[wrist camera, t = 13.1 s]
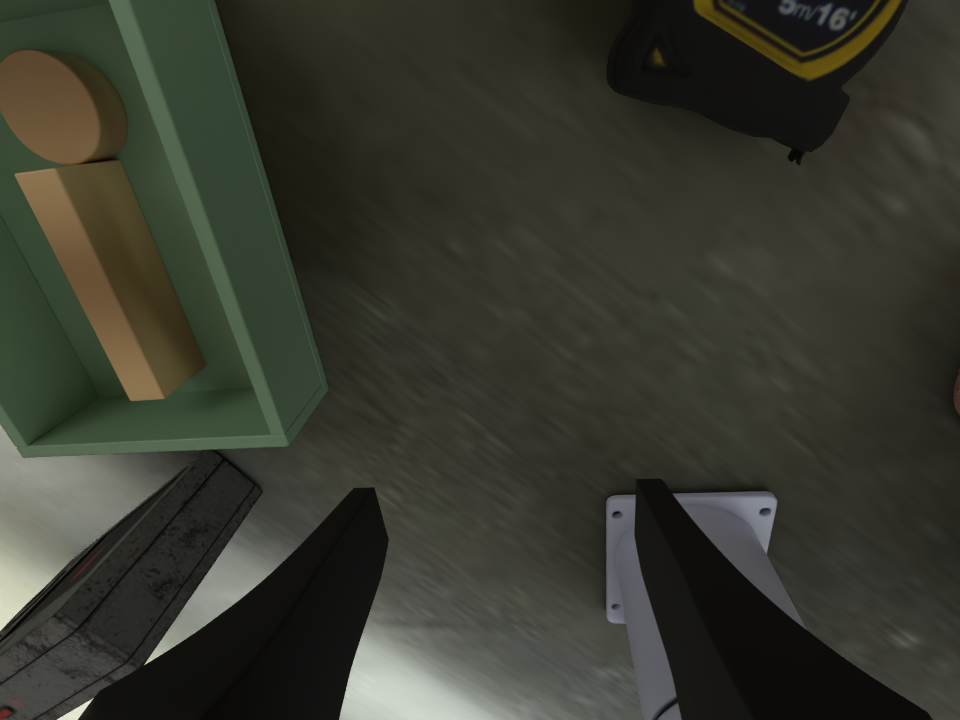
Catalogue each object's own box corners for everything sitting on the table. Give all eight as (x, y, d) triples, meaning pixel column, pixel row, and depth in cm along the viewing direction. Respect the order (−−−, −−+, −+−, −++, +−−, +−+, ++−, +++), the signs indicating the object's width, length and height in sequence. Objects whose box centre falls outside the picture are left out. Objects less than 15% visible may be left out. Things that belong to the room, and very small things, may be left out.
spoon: (226, 364, 23) (186, 398, 20) (156, 369, 23) (108, 403, 21) (100, 45, 17) (22, 34, 14) (11, 60, 18) (-81, 52, 15)
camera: (116, 598, 33) (-37, 781, 24) (63, 564, 31) (-119, 743, 23) (268, 490, 27) (140, 678, 18) (210, 443, 26) (44, 620, 17)
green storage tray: (329, 389, 24) (288, 446, 20) (102, 402, 25) (22, 458, 21) (205, -33, 16) (100, -78, 12) (-103, 23, 18) (-285, 0, 14)
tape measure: (589, 88, 17) (603, 84, 14) (692, -179, 14) (743, -268, 10) (768, 158, 17) (824, 170, 14) (908, -84, 14) (1023, -140, 11)
